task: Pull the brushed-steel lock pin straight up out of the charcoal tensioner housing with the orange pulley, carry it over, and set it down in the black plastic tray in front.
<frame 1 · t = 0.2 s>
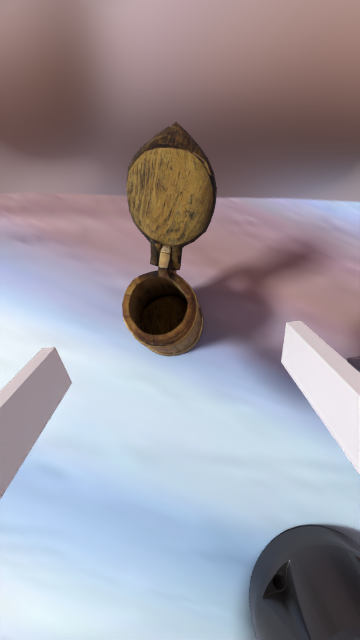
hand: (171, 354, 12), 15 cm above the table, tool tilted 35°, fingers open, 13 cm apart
wooden mug: (173, 305, 28), on the table
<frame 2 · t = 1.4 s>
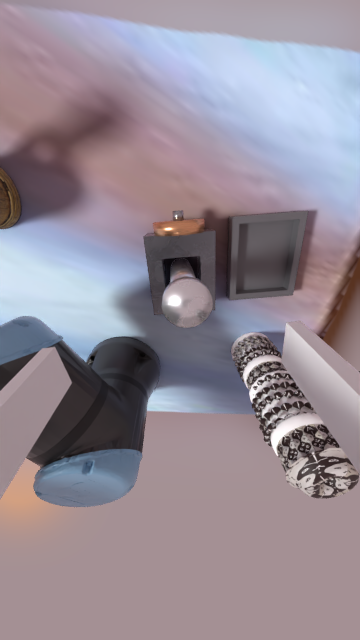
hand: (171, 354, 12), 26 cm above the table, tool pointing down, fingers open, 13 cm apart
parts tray: (259, 256, 35), on the table
decorative candle: (250, 348, 44), on the table
tensioner housing: (181, 268, 36), on the table
lock pin: (181, 268, 36), resting in tensioner housing
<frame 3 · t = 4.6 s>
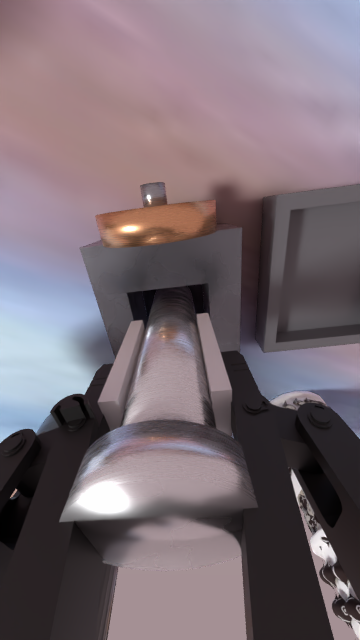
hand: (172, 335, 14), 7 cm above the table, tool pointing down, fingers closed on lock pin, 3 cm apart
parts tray: (319, 271, 19), on the table
decorative candle: (291, 412, 28), on the table
tensioner housing: (173, 298, 20), on the table
lock pin: (173, 298, 20), resting in tensioner housing, touching gripper
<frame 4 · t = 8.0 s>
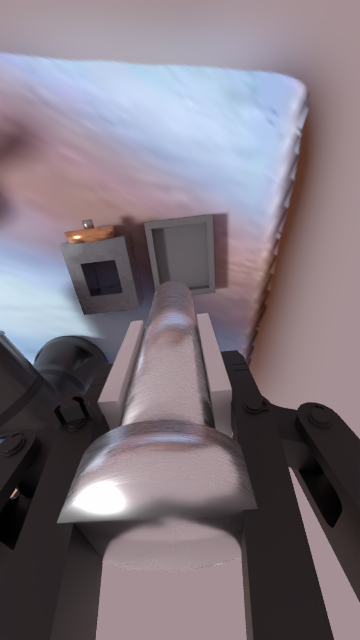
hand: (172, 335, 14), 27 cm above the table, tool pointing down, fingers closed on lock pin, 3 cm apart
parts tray: (181, 257, 38), on the table
tensioner housing: (110, 271, 39), on the table
lock pin: (173, 298, 20), point 20 cm above the table, touching gripper
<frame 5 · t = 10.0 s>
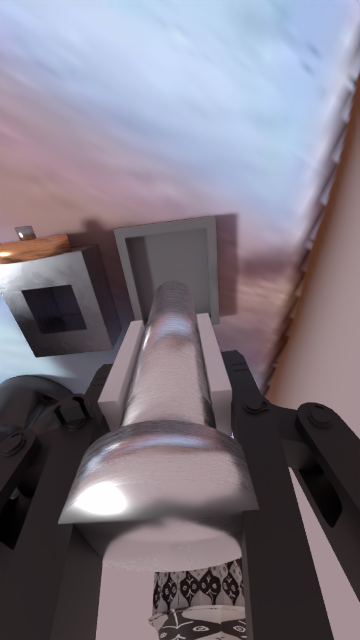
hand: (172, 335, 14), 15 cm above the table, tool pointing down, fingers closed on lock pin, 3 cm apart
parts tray: (172, 276, 27), on the table
decorative candle: (186, 383, 36), on the table
tensioner housing: (74, 295, 28), on the table
lock pin: (173, 298, 20), point 8 cm above the table, touching gripper
when the fingers open (9 cm above the table, at t = 11.7 s): lock pin drops 1 cm, resting on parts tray.
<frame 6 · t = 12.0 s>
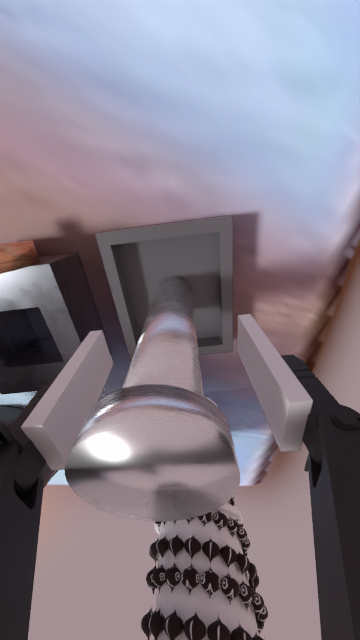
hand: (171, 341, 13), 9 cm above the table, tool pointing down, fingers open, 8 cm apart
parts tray: (173, 291, 22), on the table
decorative candle: (190, 413, 31), on the table
tensioner housing: (51, 314, 23), on the table
lock pin: (173, 294, 21), point 1 cm above the table, touching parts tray
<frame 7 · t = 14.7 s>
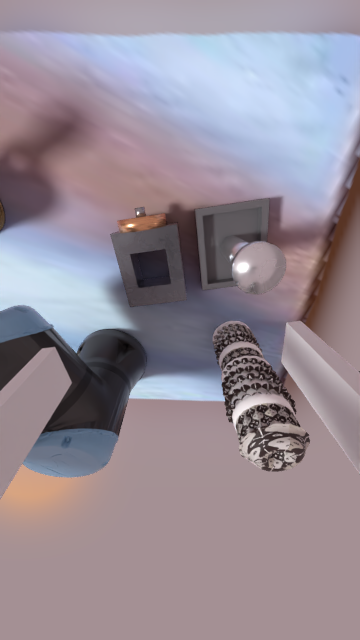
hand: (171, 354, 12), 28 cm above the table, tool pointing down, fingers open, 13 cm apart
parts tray: (229, 246, 36), on the table
decorative candle: (231, 336, 45), on the table
tensioner housing: (154, 262, 38), on the table
lock pin: (230, 247, 36), point 1 cm above the table, touching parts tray
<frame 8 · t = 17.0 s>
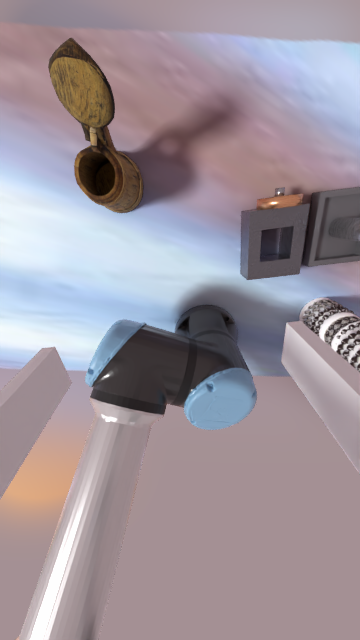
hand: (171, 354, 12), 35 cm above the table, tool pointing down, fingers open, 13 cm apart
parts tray: (334, 227, 41), on the table
decorative candle: (316, 313, 50), on the table
tensioner housing: (265, 241, 42), on the table
lock pin: (338, 227, 40), point 1 cm above the table, touching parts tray
wooden mug: (119, 169, 37), on the table
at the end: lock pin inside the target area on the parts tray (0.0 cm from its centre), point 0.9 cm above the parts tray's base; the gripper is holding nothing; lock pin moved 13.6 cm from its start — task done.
